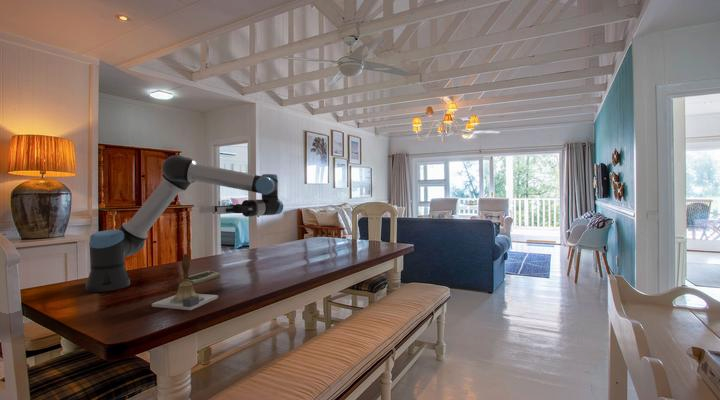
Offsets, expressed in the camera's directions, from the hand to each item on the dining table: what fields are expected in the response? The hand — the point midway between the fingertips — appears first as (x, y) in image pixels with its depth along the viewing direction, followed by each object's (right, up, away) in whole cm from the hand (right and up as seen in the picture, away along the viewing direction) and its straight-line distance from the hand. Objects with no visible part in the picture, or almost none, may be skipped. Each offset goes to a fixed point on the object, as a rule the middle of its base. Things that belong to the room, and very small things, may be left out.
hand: (208, 210), depth 145 cm
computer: (-9, -32, +14) cm, 37 cm away
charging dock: (0, -32, -18) cm, 37 cm away
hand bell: (0, -31, -18) cm, 36 cm away
